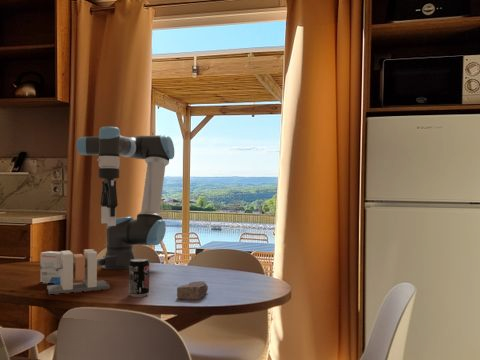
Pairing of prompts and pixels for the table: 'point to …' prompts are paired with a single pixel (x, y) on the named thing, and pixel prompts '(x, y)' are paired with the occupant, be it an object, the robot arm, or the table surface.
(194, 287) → the stone
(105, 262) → the shaft
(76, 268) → the spacer
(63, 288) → the jig
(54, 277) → the ink box
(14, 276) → the table surface
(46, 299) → the table surface
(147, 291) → the beverage can
